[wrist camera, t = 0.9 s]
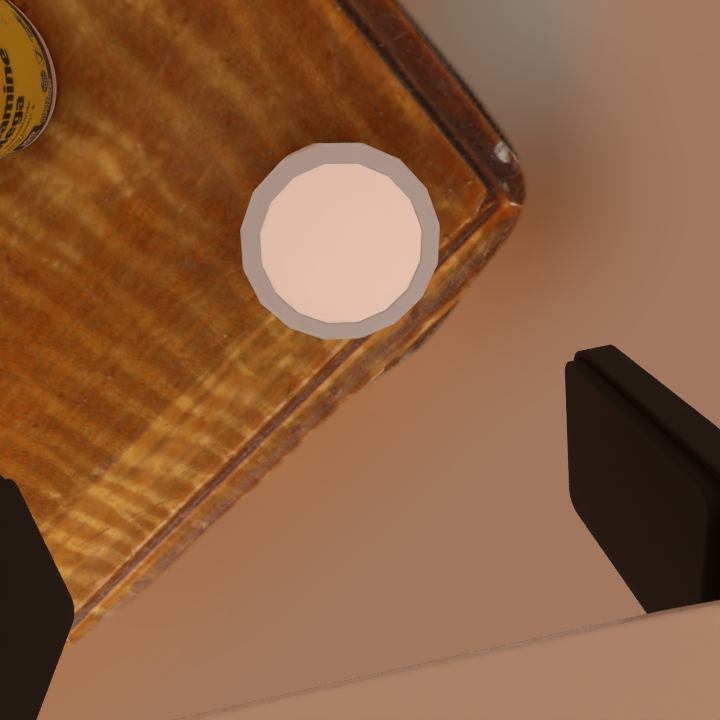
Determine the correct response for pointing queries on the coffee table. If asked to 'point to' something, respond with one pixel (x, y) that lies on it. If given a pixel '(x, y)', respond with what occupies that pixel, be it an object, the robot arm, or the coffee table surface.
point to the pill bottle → (23, 81)
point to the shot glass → (340, 240)
